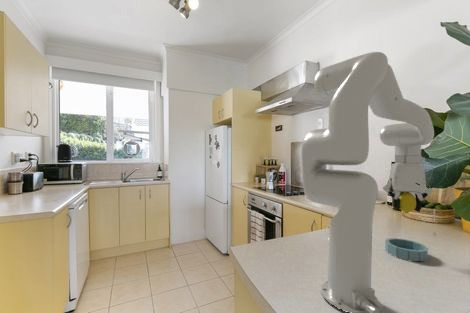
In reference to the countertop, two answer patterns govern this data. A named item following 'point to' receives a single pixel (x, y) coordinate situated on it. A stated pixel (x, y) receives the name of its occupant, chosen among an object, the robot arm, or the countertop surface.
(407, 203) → the lemon
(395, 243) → the bowl
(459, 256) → the countertop surface
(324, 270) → the countertop surface
